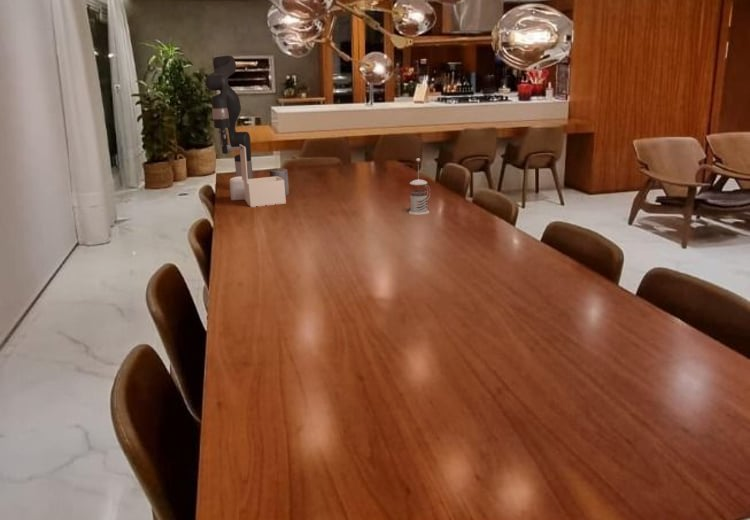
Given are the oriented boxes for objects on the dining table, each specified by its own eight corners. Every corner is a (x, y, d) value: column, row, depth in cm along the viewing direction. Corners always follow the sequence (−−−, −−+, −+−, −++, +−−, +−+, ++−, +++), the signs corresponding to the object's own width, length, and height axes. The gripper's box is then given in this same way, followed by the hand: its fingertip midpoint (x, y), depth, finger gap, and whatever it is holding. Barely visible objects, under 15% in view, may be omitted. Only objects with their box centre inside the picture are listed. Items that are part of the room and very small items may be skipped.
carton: (245, 202, 332) (243, 179, 329) (279, 198, 339) (277, 176, 335) (250, 207, 320) (248, 183, 316) (285, 203, 326) (284, 180, 323)
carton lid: (243, 179, 329) (224, 180, 326) (240, 142, 324) (221, 143, 320) (248, 183, 316) (228, 185, 313) (245, 145, 311) (225, 146, 308)
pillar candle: (268, 194, 350) (265, 167, 345) (282, 192, 356) (280, 165, 352) (277, 197, 343) (275, 169, 338) (292, 194, 349) (290, 167, 345)
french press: (404, 212, 296) (402, 158, 288) (422, 208, 303) (421, 155, 296) (418, 215, 289) (417, 160, 281) (436, 211, 296) (436, 157, 288)
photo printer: (250, 198, 343) (248, 175, 339) (250, 199, 339) (248, 176, 335) (231, 199, 342) (229, 176, 338) (230, 201, 338) (228, 177, 334)
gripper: (211, 117, 315) (215, 152, 320) (215, 119, 303) (219, 155, 308) (226, 116, 318) (230, 151, 323) (230, 117, 305) (234, 154, 310)
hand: (225, 153), depth 315 cm, fingers closed
